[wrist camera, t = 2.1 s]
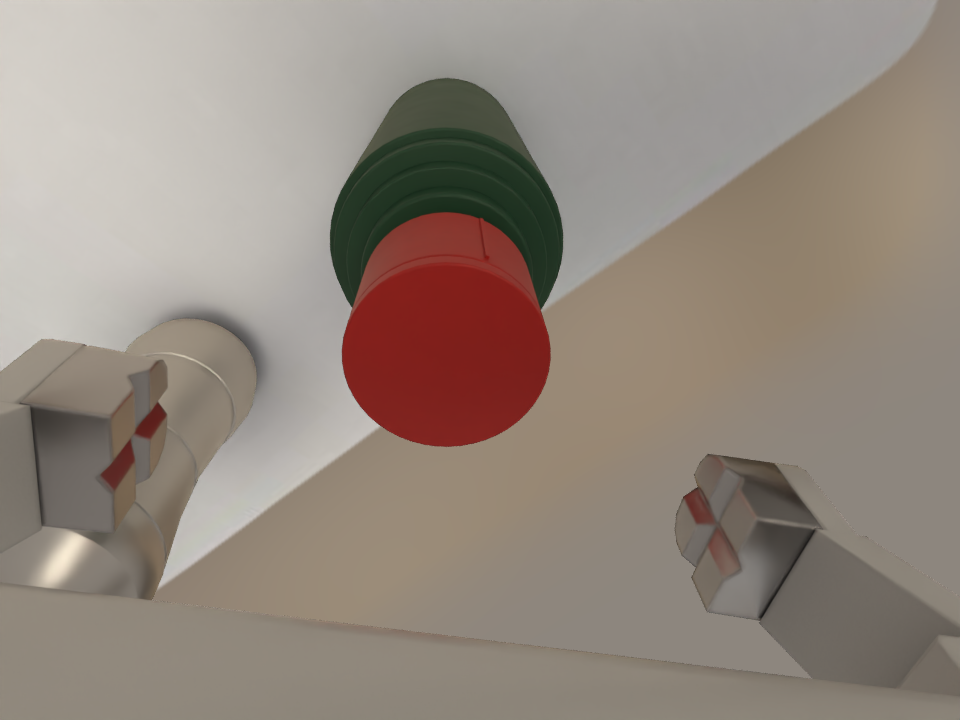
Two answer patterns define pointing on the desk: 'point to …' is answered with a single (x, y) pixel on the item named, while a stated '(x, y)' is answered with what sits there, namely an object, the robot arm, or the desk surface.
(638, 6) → the desk surface
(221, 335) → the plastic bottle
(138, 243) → the desk surface
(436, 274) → the cap
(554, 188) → the desk surface
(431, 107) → the bottle
